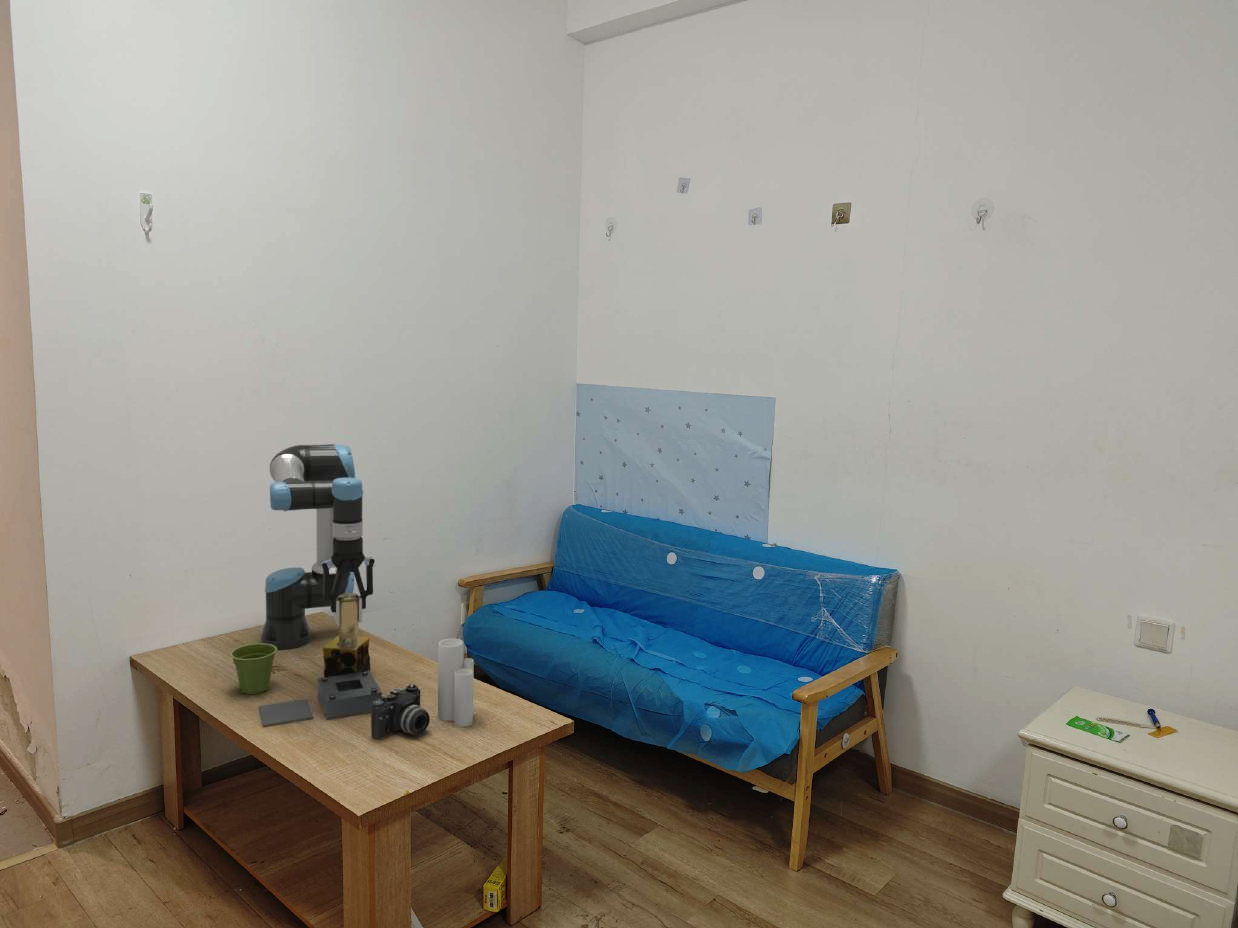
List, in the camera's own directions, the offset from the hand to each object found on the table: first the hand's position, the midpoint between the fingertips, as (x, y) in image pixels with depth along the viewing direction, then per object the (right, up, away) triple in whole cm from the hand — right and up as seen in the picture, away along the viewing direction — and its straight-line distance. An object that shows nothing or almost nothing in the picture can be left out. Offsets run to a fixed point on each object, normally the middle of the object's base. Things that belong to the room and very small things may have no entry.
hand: (348, 621), depth 219 cm
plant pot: (-29, -21, +9) cm, 37 cm away
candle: (-7, -20, +22) cm, 30 cm away
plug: (0, -7, +1) cm, 7 cm away
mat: (-15, -23, -5) cm, 28 cm away
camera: (+18, -26, -12) cm, 33 cm away
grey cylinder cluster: (+30, -25, -3) cm, 39 cm away
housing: (-1, -23, +3) cm, 23 cm away
